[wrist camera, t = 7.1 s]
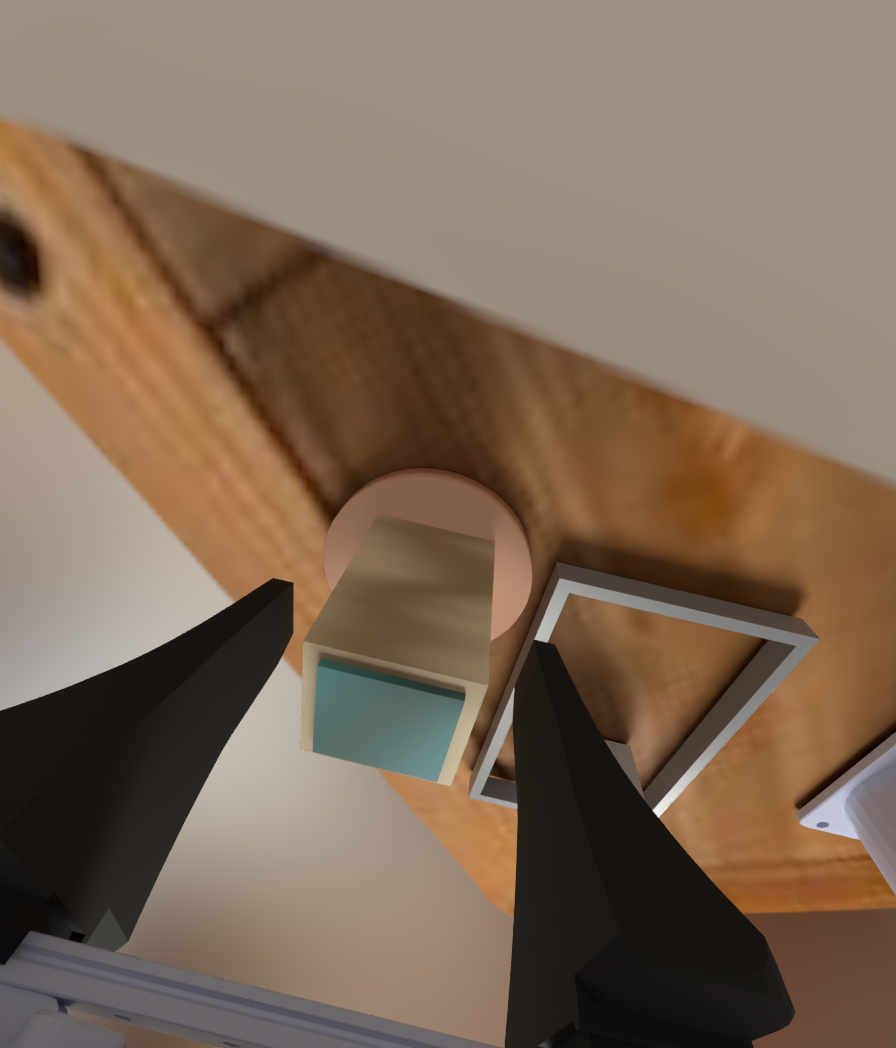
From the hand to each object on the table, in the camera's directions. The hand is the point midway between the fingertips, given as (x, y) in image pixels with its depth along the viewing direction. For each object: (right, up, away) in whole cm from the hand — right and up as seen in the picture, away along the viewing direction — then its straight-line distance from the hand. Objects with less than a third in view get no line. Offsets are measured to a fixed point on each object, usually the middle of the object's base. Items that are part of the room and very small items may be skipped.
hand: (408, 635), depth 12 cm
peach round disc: (+1, +2, +3) cm, 4 cm away
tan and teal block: (0, +2, +3) cm, 3 cm away
